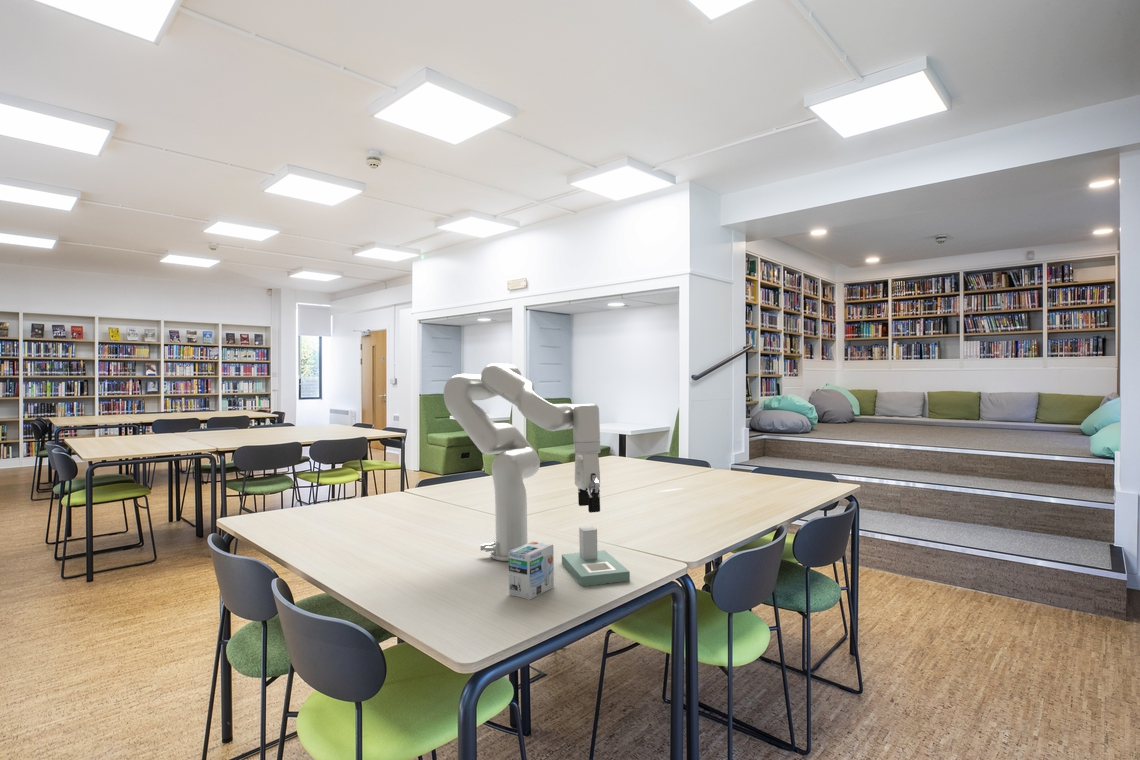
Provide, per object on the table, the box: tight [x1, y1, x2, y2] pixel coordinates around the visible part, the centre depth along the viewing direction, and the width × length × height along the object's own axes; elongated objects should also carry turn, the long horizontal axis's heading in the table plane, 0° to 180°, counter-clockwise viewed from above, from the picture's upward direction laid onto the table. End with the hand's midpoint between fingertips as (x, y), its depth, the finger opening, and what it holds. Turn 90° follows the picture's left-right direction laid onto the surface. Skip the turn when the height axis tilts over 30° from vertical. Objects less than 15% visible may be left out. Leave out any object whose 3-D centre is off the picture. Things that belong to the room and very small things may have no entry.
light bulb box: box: [508, 540, 555, 601], centre depth 139 cm, size 11×7×11 cm, turn 148°
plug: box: [578, 526, 598, 560], centre depth 158 cm, size 4×4×8 cm
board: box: [561, 549, 631, 587], centre depth 153 cm, size 13×20×2 cm, turn 15°
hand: (589, 508), depth 157 cm, fingers open, 9 cm apart
